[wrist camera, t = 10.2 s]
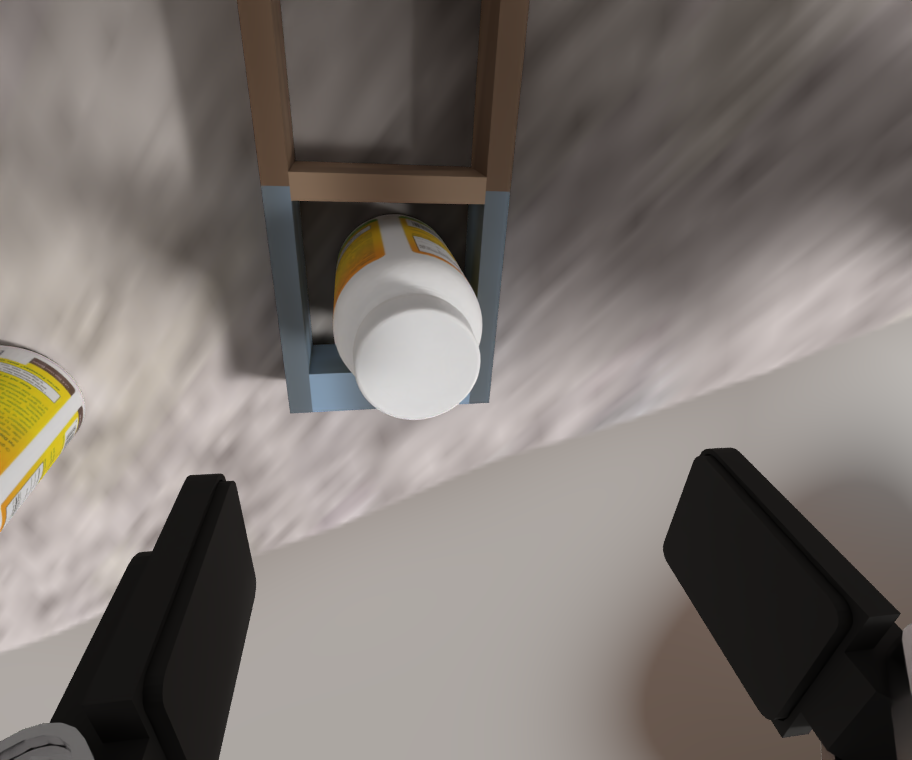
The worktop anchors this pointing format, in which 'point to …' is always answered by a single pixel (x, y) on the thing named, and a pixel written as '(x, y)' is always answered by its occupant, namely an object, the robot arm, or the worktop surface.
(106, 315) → the worktop surface
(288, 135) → the slot rack
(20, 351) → the supplement bottle
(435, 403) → the supplement bottle
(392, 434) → the worktop surface
